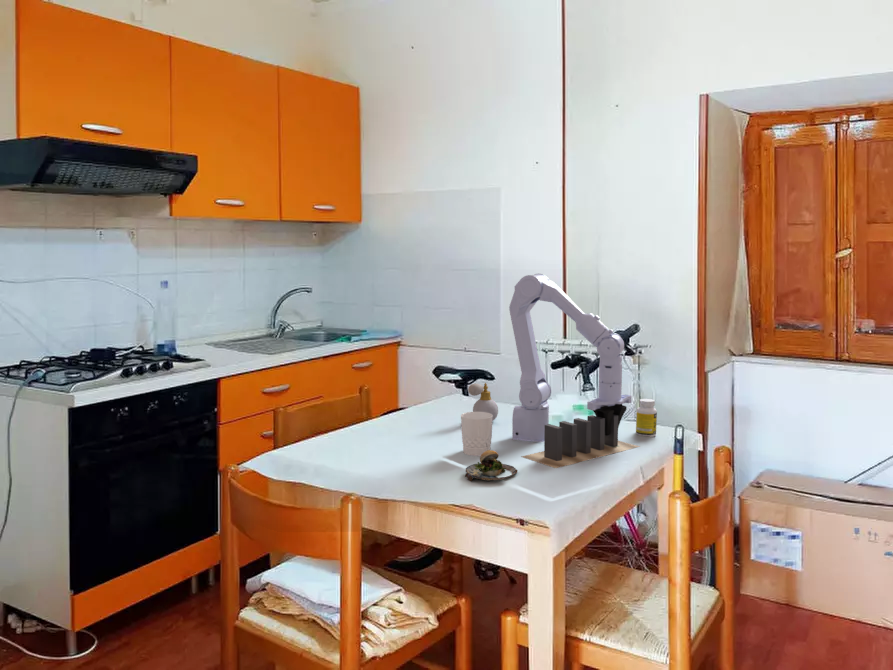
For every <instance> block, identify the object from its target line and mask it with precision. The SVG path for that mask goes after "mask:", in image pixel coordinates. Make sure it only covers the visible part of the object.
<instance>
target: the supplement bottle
mask: <svg viewBox="0 0 893 670" xmlns="http://www.w3.org/2000/svg"><path fill="white" fill-rule="evenodd" d="M638 403H639V406H638V407H637V408H636V411H635V412H636V416H635V419H636V420H635V422H636V423H635V434H636V435H639V436H644V437H650V438H654V437H656V436H657V420H658V419H657V418H658V417H657V415H658V411H657V409H656V407H655V405H656V404H655V399H652V398H639V402H638Z"/></svg>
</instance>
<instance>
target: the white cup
mask: <svg viewBox="0 0 893 670" xmlns="http://www.w3.org/2000/svg"><path fill="white" fill-rule="evenodd" d="M492 419H493V415H492V414H490V413H486V412H473V411H468V412H464V413H461V414H460V421H461V423H460V424H461V427H460V428H461V440H462V449H463V450H462V451H463V452H462V453H463V454H464V455H467V456H472V457H473V456H475V457H478V456H479V457H481V455H482V454H483V453H484V452H485V451H487V450H491V445H492V438H493V437H492V436H493V434H492V433H493V421H492ZM486 443H487V444H486Z"/></svg>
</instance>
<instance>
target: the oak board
mask: <svg viewBox="0 0 893 670" xmlns="http://www.w3.org/2000/svg"><path fill="white" fill-rule="evenodd" d="M640 447H641V446H639V445H635V444H632V443H629V442H625V441H621V440H618V446H615V447H612V446H608V445H605V444H604V450H597V449H593V448H591V453H588V454H585V453H581V452H578V451H577V452H576V457H569V456H565V455H562V460H560V461H555V460H552V459H549V458H546V457H544V450H543V451H539V452H534V453H531V454H530V453H529V454H526V455H521V456H520V457H521V458H524V459H527V460H530V461H532V462H536V463H537V464H538V463H539V464H542V465H545V466H547V467H551V468H553V469H559V468H562V467H567V466H570V465H574V464H579V463H581V462H585V461H589V460H594V459H597V458H601V457H606V456H609V455H613V454H616V453H620V452H624V451H628V450H632V449H636V448H640Z"/></svg>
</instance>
